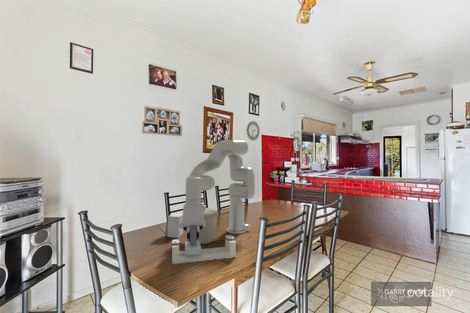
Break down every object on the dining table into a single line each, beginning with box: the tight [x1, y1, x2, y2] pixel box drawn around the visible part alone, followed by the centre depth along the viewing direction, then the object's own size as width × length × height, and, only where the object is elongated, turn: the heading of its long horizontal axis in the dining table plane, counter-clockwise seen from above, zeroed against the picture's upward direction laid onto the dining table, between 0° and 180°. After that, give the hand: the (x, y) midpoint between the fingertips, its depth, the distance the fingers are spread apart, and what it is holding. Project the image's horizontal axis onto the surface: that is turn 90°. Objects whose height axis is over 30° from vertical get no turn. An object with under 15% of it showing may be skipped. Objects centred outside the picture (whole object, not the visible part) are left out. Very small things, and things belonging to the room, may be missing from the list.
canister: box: [196, 204, 219, 245], centre depth 134 cm, size 18×18×21 cm
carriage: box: [184, 225, 202, 255], centre depth 113 cm, size 7×9×13 cm
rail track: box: [170, 235, 237, 265], centre depth 114 cm, size 32×10×8 cm, turn 105°
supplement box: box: [167, 213, 184, 239], centre depth 142 cm, size 7×7×13 cm
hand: (192, 239), depth 113 cm, fingers closed on carriage, 3 cm apart
